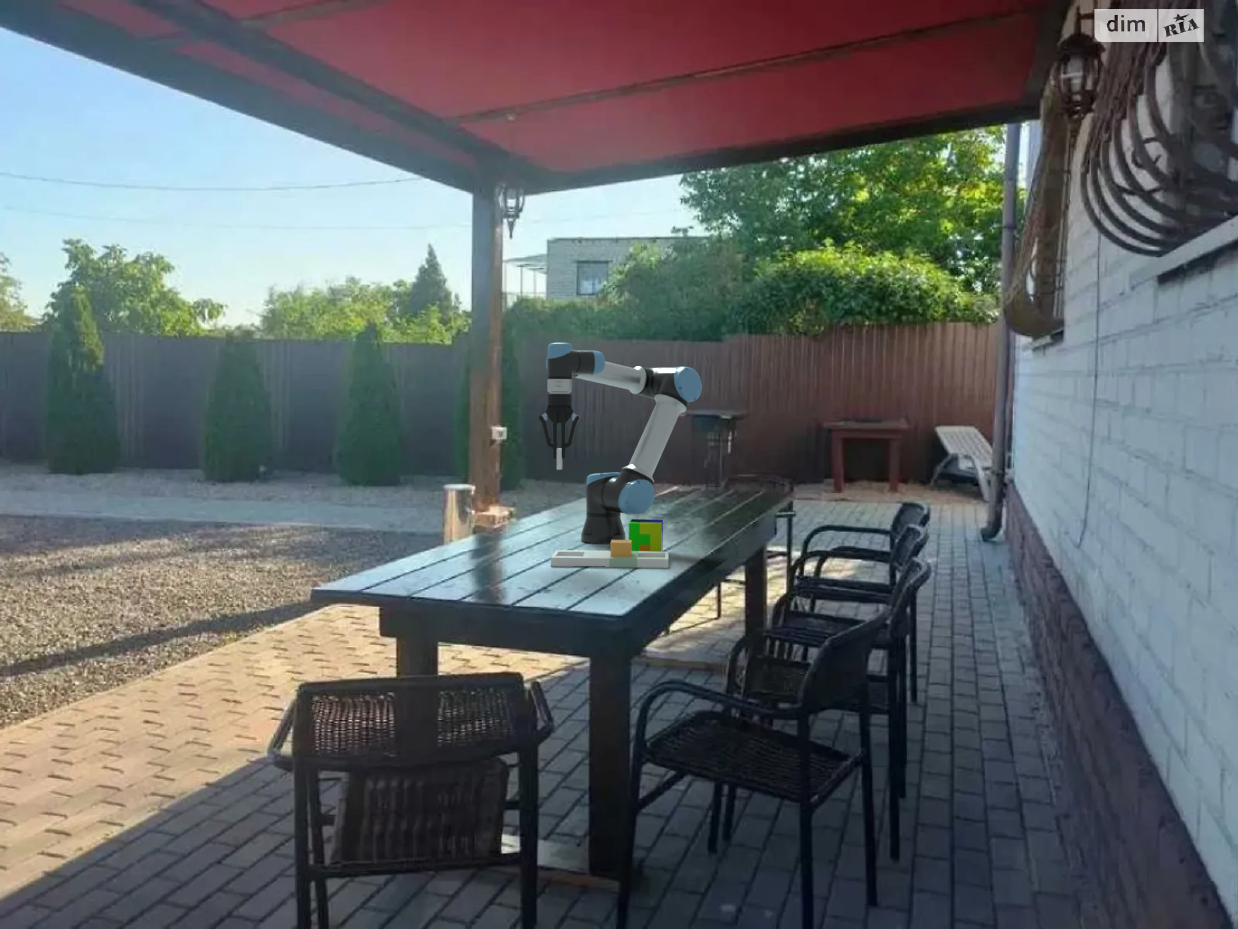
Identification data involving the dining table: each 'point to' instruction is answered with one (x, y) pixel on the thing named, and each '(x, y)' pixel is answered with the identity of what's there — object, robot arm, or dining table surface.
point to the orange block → (621, 548)
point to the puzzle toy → (646, 534)
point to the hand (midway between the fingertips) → (559, 469)
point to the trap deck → (609, 559)
